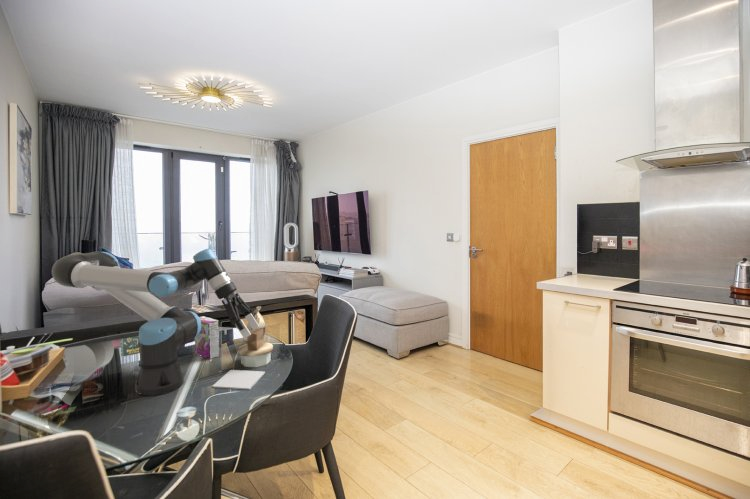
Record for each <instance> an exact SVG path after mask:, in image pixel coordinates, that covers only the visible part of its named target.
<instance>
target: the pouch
mask: <svg viewBox="0 0 750 499" xmlns="http://www.w3.org/2000/svg"><path fill="white" fill-rule="evenodd" d="M261 309H262V306H261V305H258V306H256V309H255V310H254V311H253V312H252V313H251V314H252V315H253V317H254V319H255V320H256V322H257V323H258V325H259V327H258V328H256V329H263V335H264V336H265V334H266V323H265V320H264V317H263V316H262V314H261V313H260V310H261ZM246 327H247V329H248V330H249V332H250V331H252V330H253V329H252V328H251V326H250V324H249V323H248V322H247V326H246Z"/></svg>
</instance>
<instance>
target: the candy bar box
mask: <svg viewBox="0 0 750 499" xmlns="http://www.w3.org/2000/svg"><path fill="white" fill-rule="evenodd" d="M198 317H199V318H200V320H201V331H200V333H199V335H198V336H197V337H196V338H194V344H195V345H194V348H195V349H194V350H195V352H194V354H195V353H197V354H199V355H198V356H200V355H201V356H200V357H202V358H205V357H206V358H205V359H208V360H213V359H216V358H218V357H220V333H219V332H220V331H219V330H220V328H219V327H220V326H219V320H218V319H215V318H211V317H207V316H198ZM197 354H196V355H197ZM215 357H216V358H215ZM212 358H213V359H212Z"/></svg>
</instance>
